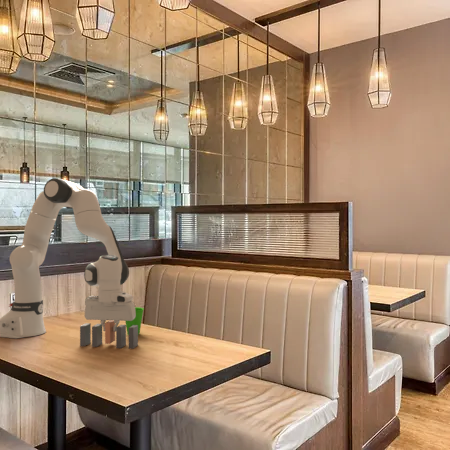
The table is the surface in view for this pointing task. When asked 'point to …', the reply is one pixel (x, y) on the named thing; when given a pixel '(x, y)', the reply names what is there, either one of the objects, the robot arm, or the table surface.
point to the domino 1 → (85, 334)
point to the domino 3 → (109, 332)
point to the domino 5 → (133, 336)
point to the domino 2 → (96, 335)
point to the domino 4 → (120, 336)
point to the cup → (135, 320)
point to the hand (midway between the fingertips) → (110, 331)
